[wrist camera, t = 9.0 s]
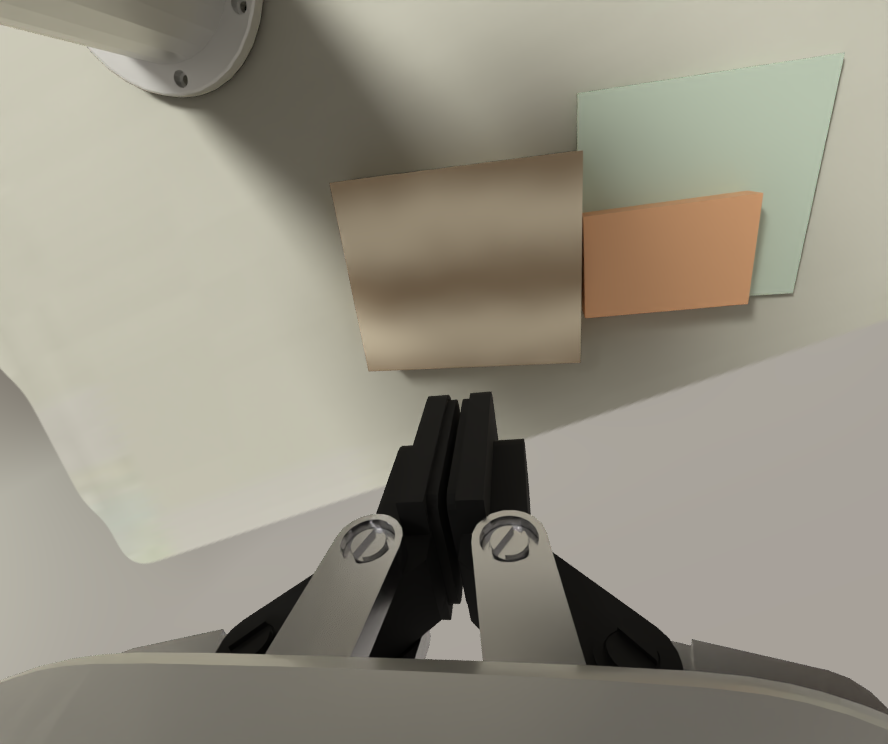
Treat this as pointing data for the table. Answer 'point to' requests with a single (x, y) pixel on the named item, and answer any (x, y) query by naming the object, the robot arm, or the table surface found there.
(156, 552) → the table surface
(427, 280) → the plate
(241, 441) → the table surface
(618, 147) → the mat
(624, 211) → the tile
